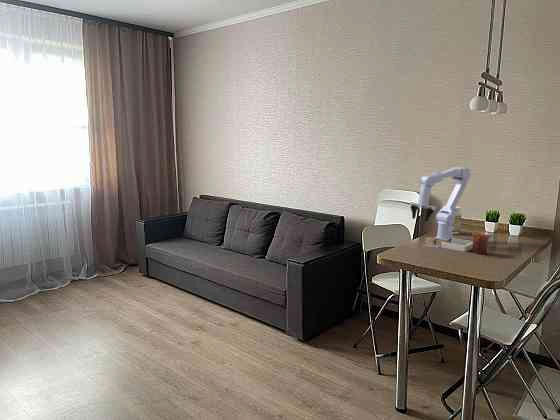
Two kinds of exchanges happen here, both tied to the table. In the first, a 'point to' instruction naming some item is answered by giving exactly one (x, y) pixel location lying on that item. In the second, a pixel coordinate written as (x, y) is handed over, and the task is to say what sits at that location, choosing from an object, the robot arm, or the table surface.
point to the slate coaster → (432, 245)
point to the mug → (480, 242)
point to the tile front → (441, 241)
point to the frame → (458, 247)
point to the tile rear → (430, 240)
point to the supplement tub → (456, 221)
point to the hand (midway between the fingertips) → (419, 219)
